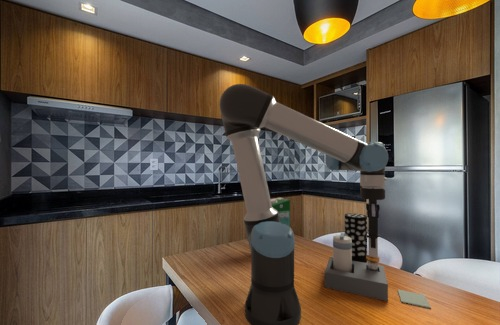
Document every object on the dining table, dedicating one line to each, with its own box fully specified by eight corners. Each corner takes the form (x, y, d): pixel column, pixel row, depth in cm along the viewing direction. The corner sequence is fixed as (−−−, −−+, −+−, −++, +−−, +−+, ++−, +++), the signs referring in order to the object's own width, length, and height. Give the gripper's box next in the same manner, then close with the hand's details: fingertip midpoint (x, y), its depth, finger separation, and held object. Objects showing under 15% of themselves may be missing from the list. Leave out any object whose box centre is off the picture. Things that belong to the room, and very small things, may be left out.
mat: (430, 308, 65) (430, 307, 65) (401, 302, 68) (401, 301, 68) (424, 296, 71) (424, 294, 71) (397, 290, 74) (397, 289, 74)
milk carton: (262, 251, 108) (262, 197, 108) (279, 248, 112) (279, 196, 112) (272, 258, 100) (272, 200, 100) (290, 255, 103) (290, 199, 104)
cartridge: (351, 287, 76) (351, 238, 77) (332, 283, 79) (332, 236, 79) (352, 279, 82) (352, 233, 82) (334, 275, 84) (333, 231, 85)
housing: (387, 301, 69) (387, 284, 69) (324, 287, 76) (324, 272, 76) (383, 280, 81) (383, 265, 81) (329, 269, 89) (329, 256, 89)
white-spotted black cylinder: (348, 259, 99) (348, 212, 99) (369, 264, 94) (369, 215, 94) (341, 265, 93) (341, 215, 93) (364, 272, 87) (364, 218, 88)
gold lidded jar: (379, 279, 76) (379, 260, 76) (366, 277, 78) (366, 258, 78) (379, 274, 80) (378, 255, 80) (366, 272, 82) (366, 254, 82)
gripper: (387, 189, 72) (387, 265, 72) (383, 186, 84) (383, 251, 83) (360, 188, 75) (361, 261, 75) (360, 185, 87) (360, 248, 87)
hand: (373, 256), depth 79 cm, fingers closed
